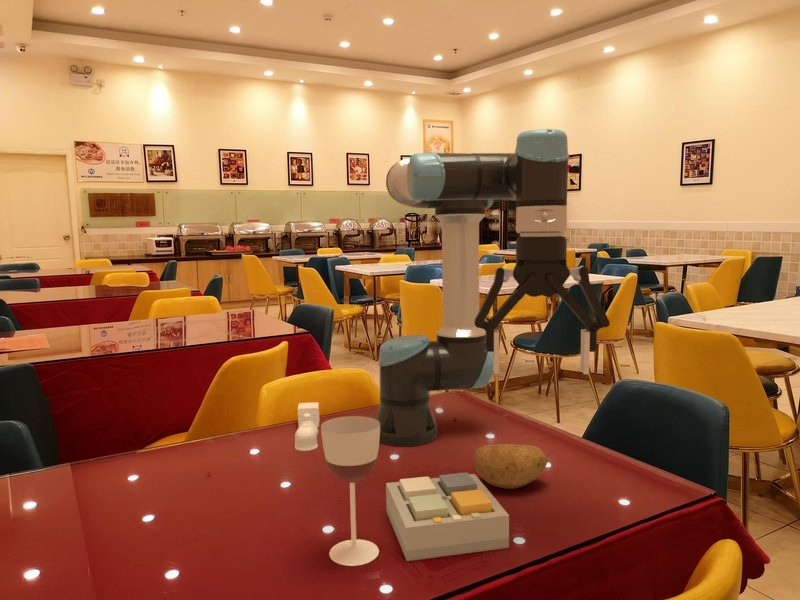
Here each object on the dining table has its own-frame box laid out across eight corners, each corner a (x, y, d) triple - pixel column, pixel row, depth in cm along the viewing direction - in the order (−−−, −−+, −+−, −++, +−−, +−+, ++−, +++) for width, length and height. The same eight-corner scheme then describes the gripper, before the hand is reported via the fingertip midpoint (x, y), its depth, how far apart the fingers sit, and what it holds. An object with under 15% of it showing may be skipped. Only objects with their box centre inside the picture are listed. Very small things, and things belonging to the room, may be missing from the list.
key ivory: (399, 494, 102) (399, 479, 102) (428, 490, 103) (428, 476, 103) (406, 507, 97) (406, 491, 97) (436, 503, 98) (435, 488, 98)
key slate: (439, 489, 104) (439, 475, 103) (467, 486, 105) (467, 472, 104) (447, 502, 99) (447, 487, 98) (476, 499, 100) (476, 484, 99)
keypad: (386, 511, 104) (385, 481, 103) (474, 501, 107) (474, 472, 107) (406, 561, 89) (406, 525, 88) (508, 547, 92) (509, 513, 91)
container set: (299, 423, 153) (298, 402, 153) (320, 422, 154) (319, 401, 153) (293, 452, 133) (292, 428, 133) (317, 451, 134) (316, 427, 133)
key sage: (408, 512, 95) (408, 497, 95) (439, 509, 96) (439, 493, 96) (416, 527, 90) (416, 511, 90) (448, 524, 92) (448, 507, 91)
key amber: (451, 507, 97) (451, 492, 96) (480, 504, 98) (480, 489, 97) (460, 522, 92) (460, 506, 92) (491, 518, 93) (491, 502, 93)
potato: (554, 495, 109) (555, 453, 108) (477, 498, 109) (477, 455, 108) (539, 473, 119) (540, 434, 118) (469, 476, 119) (469, 436, 118)
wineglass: (326, 540, 95) (322, 417, 93) (381, 537, 96) (378, 415, 93) (324, 568, 87) (319, 435, 85) (384, 564, 88) (381, 432, 85)
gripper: (458, 236, 89) (459, 377, 91) (633, 233, 87) (629, 378, 89) (458, 236, 96) (459, 366, 99) (619, 233, 94) (615, 366, 96)
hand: (540, 372), depth 94 cm, fingers open, 13 cm apart
